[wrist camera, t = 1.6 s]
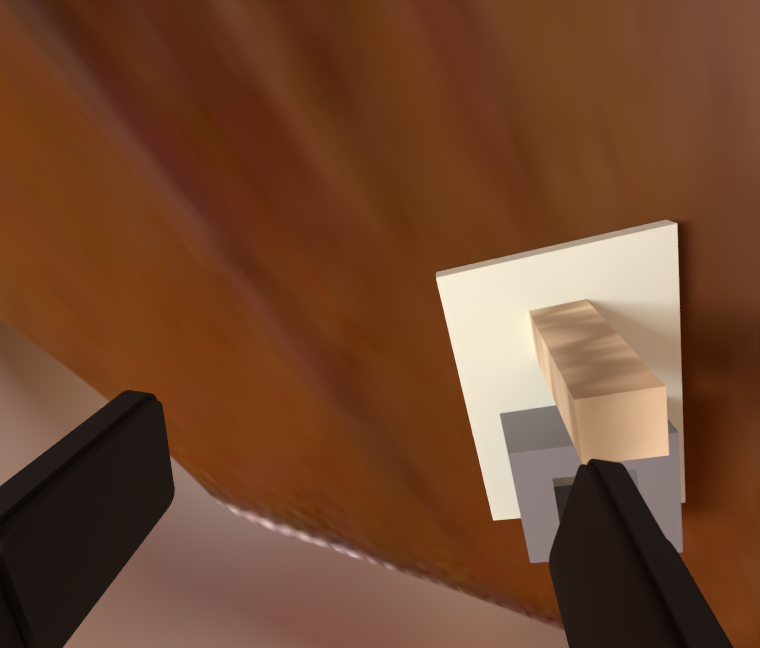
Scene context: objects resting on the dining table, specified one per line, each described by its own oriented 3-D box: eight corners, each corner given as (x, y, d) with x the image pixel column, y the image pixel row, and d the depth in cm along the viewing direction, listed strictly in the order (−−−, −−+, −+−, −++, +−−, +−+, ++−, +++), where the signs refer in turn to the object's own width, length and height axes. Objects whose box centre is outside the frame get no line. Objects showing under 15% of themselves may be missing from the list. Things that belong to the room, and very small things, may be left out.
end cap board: (666, 219, 29) (723, 238, 23) (676, 489, 37) (720, 554, 31) (436, 272, 33) (434, 300, 27) (491, 507, 41) (499, 569, 35)
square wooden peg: (585, 299, 31) (666, 386, 20) (591, 348, 32) (669, 455, 21) (528, 310, 31) (573, 399, 20) (535, 358, 33) (582, 465, 22)
